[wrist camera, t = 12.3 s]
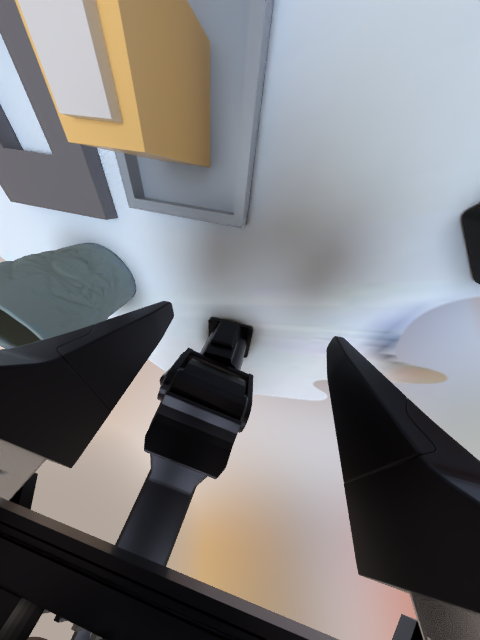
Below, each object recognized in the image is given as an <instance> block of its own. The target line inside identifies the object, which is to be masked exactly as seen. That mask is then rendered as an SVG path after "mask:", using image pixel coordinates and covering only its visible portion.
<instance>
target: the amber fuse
mask: <svg viewBox="0 0 480 640" xmlns="http://www.w3.org/2000/svg"><path fill="white" fill-rule="evenodd" d="M15 2H16V5H17V8H18V10H19V13H20V15H21V18H22V21H23V23H24V26H25V29H26V31H27V34H28V37H29V39H30V42H31V45H32V47H33V50H34V53H35V55H36V58H37V60H38V63H39V66H40V68H41V71H42V74H43V76H44V79H45V82H46V84H47V87H48V90H49V92H50V95H51V98H52V100H53V103H54V105H55V108H56V111H57V113H58V116H59V119H60V121H61V124H62V127H63V129H64V132H65V135H66V137H67V140H68V142H70V143H76V144H81V145H86V146H91V147H96V148H101V149H106V150H111V151H116V152H121V153H126V154H131V155H136V156H141V157H146V158H151V159H156V160H161V161H167V162H174V163H181V164H188V165H196V166H203V167H210V41H209V39H208V37H207V35H206V33H205V32H204V30H203V28H202V26H201V24H200V23H199V21H198V19H197V17H196V15H195V14H194V12H193V10H192V8H191V6H190V5H189V3H188V1H187V0H15Z"/></svg>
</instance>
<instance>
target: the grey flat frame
mask: <svg viewBox="0 0 480 640" xmlns="http://www.w3.org/2000/svg"><path fill="white" fill-rule="evenodd" d="M0 33H1V35H2V38H3V40H4V42H5V45H6V47H7V49H8V51H9V54H10V56H11V58H12V61H13V63H14V65H15V68H16V70H17V72H18V75H19V77H20V79H21V82H22V84H23V86H24V89H25V91H26V93H27V96H28V98H29V100H30V103H31V105H32V107H33V110H34V112H35V114H36V117H37V119H38V121H39V123H40V126H41V128H42V130H43V133H44V135H45V137H46V140H47V142H48V144H49V147H50V149H51V151H52V154H53V155H50V154H44V153H37V152H30V151H24V150H23V149H22V147H21V145H20V143H19V141H18V139H17V138H16V136H15V134H14V132H13V130H12V128H11V126H10V124H9V122H8V120H7V118H6V116H5V114H4V112H3V110H2V108H1V106H0V185H1V187H2V188H3V190H4V191H5V193H6V195H7V196H8V198H9V199H10V201H11V202H16V203H22V204H27V205H32V206H37V207H43V208H48V209H53V210H58V211H63V212H69V213H74V214H79V215H84V216H89V217H95V218H100V219H105V220H108V219H113V218H118V217H117V214H116V211H115V208H114V204H113V201H112V198H111V194H110V191H109V188H108V185H107V181H106V178H105V175H104V172H103V168H102V165H101V162H100V159H99V155H98V152H97V149H96V147H91V146H86V145H81V144H76V143H70V142H68V140H67V137H66V135H65V132H64V129H63V127H62V124H61V121H60V119H59V116H58V113H57V111H56V108H55V105H54V103H53V100H52V98H51V95H50V92H49V90H48V87H47V84H46V82H45V79H44V76H43V74H42V71H41V68H40V66H39V63H38V60H37V58H36V55H35V53H34V50H33V47H32V45H31V42H30V39H29V37H28V34H27V31H26V29H25V26H24V23H23V21H22V18H21V15H20V13H19V10H18V8H17V5H16V2H15V0H0Z"/></svg>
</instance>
